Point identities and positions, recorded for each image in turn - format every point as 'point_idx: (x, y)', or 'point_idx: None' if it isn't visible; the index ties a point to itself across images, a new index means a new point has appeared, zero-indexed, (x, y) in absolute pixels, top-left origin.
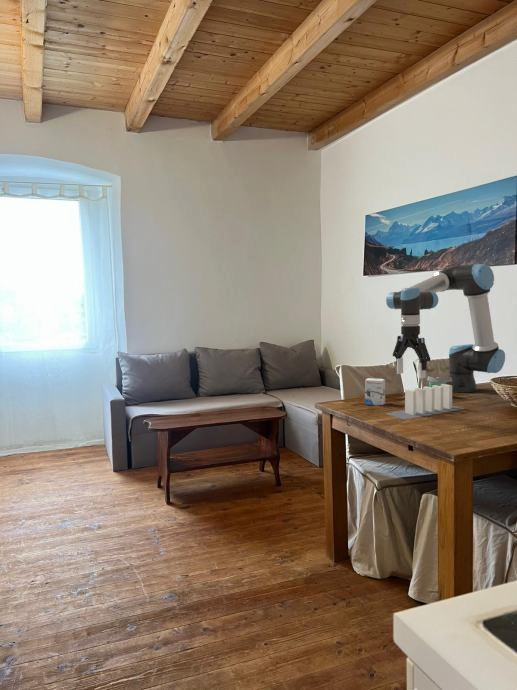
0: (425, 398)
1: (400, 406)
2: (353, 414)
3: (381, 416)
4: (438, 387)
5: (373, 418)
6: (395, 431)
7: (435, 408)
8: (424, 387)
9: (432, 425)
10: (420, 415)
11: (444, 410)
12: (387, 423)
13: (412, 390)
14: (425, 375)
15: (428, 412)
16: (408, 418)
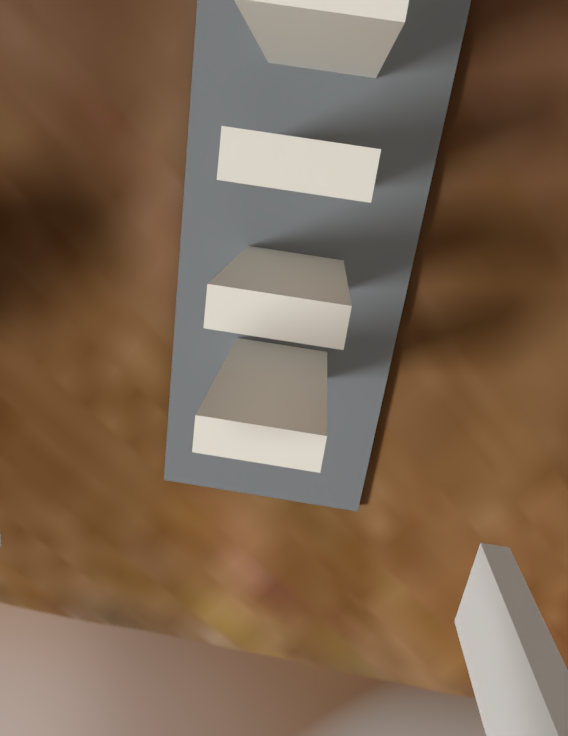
0: (347, 284)
1: (27, 191)
2: (46, 583)
3: (184, 512)
4: (360, 16)
5: (191, 574)
6: (466, 679)
7: (310, 67)
8: (238, 182)
9: (559, 466)
10: (367, 353)
11: (404, 53)
12: (327, 600)
13: (279, 440)
14: (519, 575)
15: (351, 230)
16: (362, 472)
